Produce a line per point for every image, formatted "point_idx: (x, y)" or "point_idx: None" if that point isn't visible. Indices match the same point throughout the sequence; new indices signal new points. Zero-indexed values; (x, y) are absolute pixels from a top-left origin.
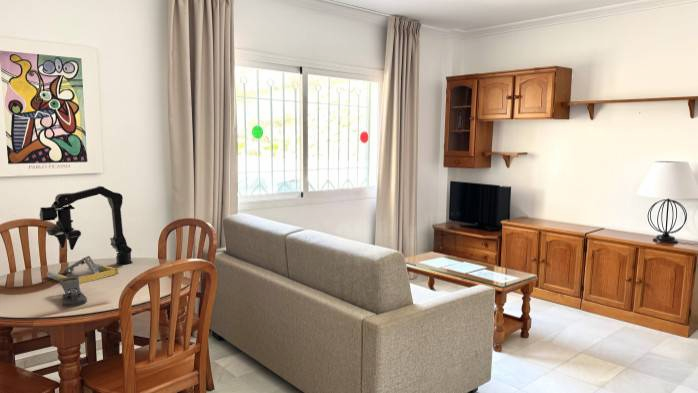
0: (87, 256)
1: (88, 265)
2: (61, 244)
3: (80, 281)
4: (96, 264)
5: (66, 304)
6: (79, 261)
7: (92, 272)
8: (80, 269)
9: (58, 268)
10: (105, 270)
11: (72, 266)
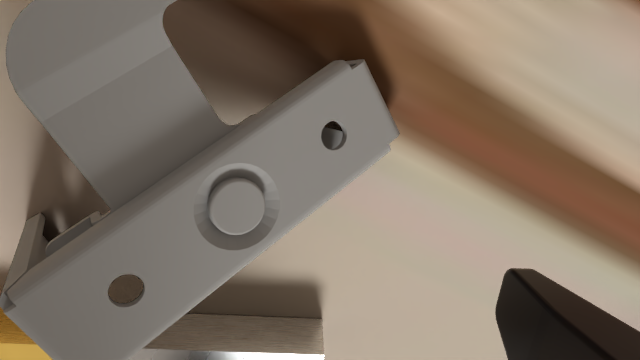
0: (51, 357)
1: (23, 246)
2: (561, 343)
3: None
4: (196, 352)
5: None
6: (101, 223)
7: (36, 217)
8: (342, 236)
9: (623, 143)
10: None
11: (64, 79)
